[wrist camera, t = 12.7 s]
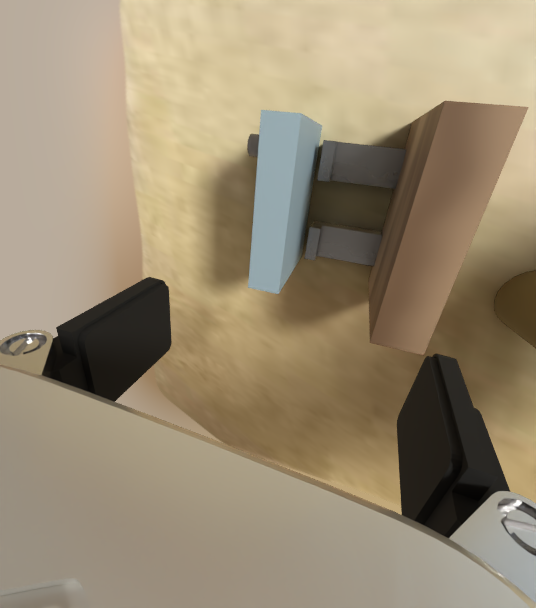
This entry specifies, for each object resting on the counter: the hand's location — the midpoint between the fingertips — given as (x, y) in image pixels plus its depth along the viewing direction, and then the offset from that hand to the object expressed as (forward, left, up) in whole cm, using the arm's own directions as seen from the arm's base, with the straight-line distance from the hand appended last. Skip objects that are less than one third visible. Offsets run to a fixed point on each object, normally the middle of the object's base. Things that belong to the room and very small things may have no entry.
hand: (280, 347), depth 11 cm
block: (+4, -2, -22) cm, 23 cm away
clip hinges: (+1, -2, -22) cm, 22 cm away
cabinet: (-6, -2, -22) cm, 23 cm away
